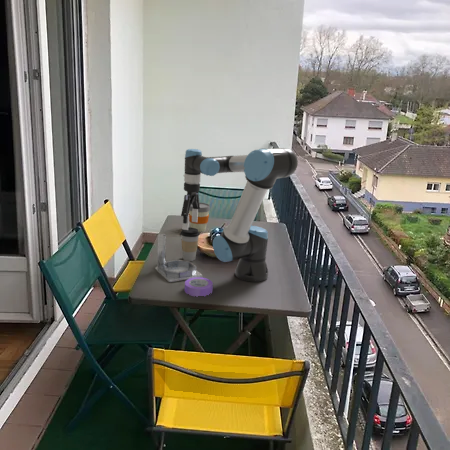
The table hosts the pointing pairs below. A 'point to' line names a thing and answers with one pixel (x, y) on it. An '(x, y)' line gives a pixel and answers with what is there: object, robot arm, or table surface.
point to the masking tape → (198, 286)
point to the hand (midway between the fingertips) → (190, 225)
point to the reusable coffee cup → (200, 217)
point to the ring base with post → (174, 265)
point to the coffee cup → (189, 243)
